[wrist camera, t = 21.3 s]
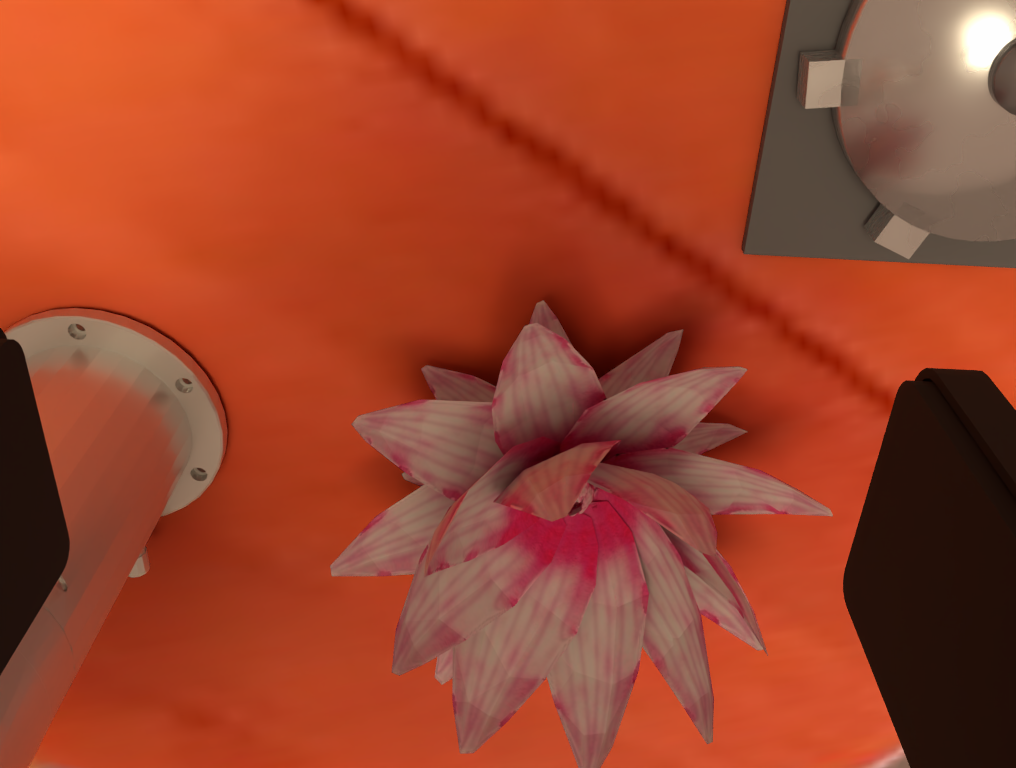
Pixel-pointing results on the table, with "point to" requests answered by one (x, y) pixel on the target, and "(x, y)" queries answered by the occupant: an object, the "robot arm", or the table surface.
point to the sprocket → (925, 115)
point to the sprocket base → (826, 170)
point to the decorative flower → (564, 533)
